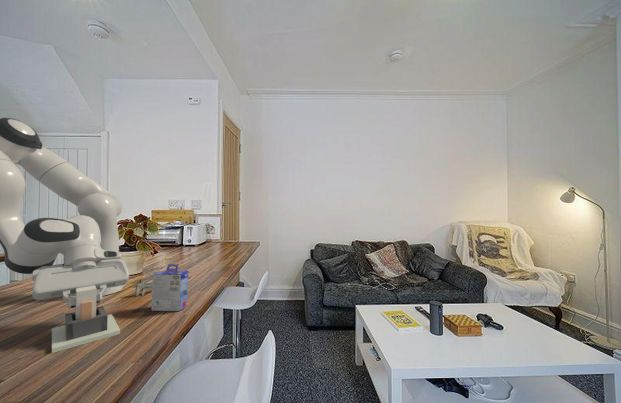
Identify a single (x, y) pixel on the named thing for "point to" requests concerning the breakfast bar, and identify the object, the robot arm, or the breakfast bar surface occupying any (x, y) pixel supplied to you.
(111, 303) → the breakfast bar surface
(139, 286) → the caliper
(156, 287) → the ink cartridge box
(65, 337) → the socket
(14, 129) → the robot arm
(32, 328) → the breakfast bar surface
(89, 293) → the cream square peg
